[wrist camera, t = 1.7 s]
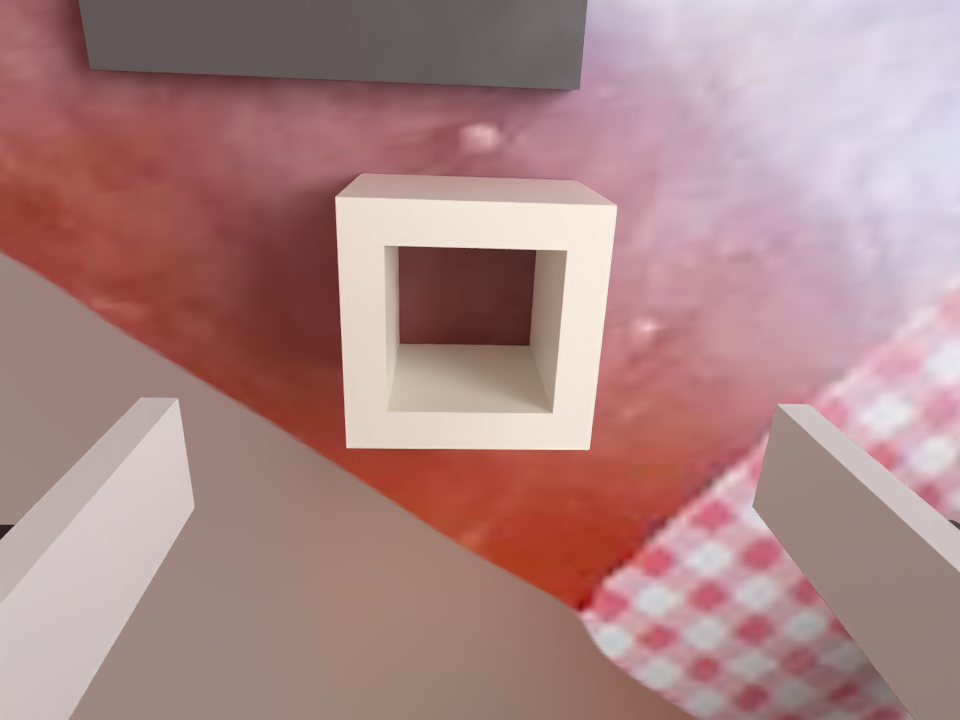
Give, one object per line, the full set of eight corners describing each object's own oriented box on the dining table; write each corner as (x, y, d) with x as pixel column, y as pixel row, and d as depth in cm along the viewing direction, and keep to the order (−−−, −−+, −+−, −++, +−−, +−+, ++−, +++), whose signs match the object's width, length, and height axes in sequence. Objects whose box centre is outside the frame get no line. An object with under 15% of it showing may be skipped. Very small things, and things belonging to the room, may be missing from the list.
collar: (558, 375, 31) (589, 450, 24) (367, 373, 30) (346, 448, 24) (576, 180, 27) (617, 205, 21) (361, 173, 27) (335, 196, 20)
